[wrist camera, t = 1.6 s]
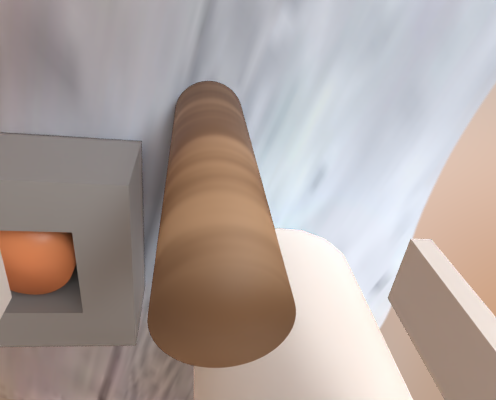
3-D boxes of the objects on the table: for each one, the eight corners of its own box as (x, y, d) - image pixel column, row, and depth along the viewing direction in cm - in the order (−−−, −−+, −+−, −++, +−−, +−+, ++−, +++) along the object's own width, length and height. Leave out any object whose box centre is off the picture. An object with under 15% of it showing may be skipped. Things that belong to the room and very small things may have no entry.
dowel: (175, 78, 23) (146, 262, 10) (245, 84, 24) (308, 265, 10) (174, 142, 25) (148, 369, 12) (238, 146, 26) (283, 366, 12)
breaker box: (-76, 127, 23) (-144, 173, 19) (141, 141, 25) (128, 185, 20) (-26, 284, 29) (-68, 347, 25) (145, 285, 31) (135, 345, 26)
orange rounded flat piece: (-16, 207, 23) (-31, 226, 22) (76, 210, 24) (68, 228, 22) (1, 273, 26) (-11, 294, 24) (84, 274, 27) (77, 294, 25)
